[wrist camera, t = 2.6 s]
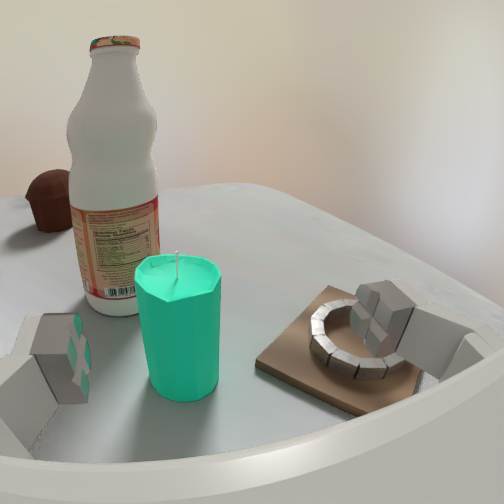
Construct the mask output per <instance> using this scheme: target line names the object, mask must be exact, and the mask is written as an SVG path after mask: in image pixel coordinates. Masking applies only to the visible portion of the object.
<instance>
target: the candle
mask: <svg viewBox="0 0 504 504" xmlns="http://www.w3.org/2000/svg"><path fill="white" fill-rule="evenodd" d="M134 280H135V288H136V296H137V303H138V311H139V317H140V324H141V330H142V336H143V342H144V348H145V353H146V359H147V364H148V369H149V374H150V379H151V384H152V386H153V387H154V388H155V389H156V390H157V391H158V393H159V394H160V395H161V396H163V397H165V398H168V399H171V400H174V401H177V402H188V401H198V400H199V399H201V398H203V397H205V396H206V395H208V394H209V393H211V392H213V389H214V387H215V385H216V383H217V381H218V379H219V334H220V299H221V273H220V271H219V268H218V265H216V264H214V263H213V262H211V261H209V260H208V259H206V258H204V257H196V256H188V255H178V252H177V251H176V255H171V254H163V255H156V256H149V257H146V258H145V259H144V260H143V261H142V262H141V263H140V265H139V266H138V267H137V268H136V270H135V279H134Z"/></svg>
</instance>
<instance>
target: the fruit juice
mask: <svg viewBox="0 0 504 504" xmlns="http://www.w3.org/2000/svg"><path fill="white" fill-rule="evenodd" d="M139 49H140V40H139V39H138V38H137V37H132V36H109V37H102V38H98V39H95V40H93V41H92V42H91V46H90V57H91V58H92V66H91V70H90V73H89V76H88V80H87V82H86V85H85V88H84V90H83V93H82V96H81V98H80V100H79V102H78V103H77V105H76V107H75V108H74V110H73V111H72V113H71V115H70V117H69V119H68V123H67V141H68V145H69V148H70V151H71V155H72V166H71V170H70V173H69V200H70V208H71V216H72V223H73V231H74V237H75V244H76V250H77V256H78V261H79V267H80V272H81V277H82V282H83V287H84V291H85V295H86V298H87V300H88V302H89V304H90V305H91V307H92V308H93V309H95V310H96V311H98V312H100V313H102V314H105V315H110V316H129V315H134V314H137V313H139V311H138V303H137V296H136V288H135V280H134V279H135V270H136V268H137V267H138V266H139V265H140V263H141V262H142V261H143V260H144V259H145V258H146V257H149V256H156V255H160V242H159V219H158V180H157V170H156V165H155V163H154V160H153V158H152V146H153V142H154V139H155V135H156V130H157V121H156V114H155V111H154V109H153V107H152V106H151V104H150V103H149V101H148V100H147V98H146V96H145V94H144V91H143V89H142V86H141V82H140V79H139V75H138V72H137V67H136V61H135V59H136V55H138V53H139Z"/></svg>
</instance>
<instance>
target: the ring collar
mask: <svg viewBox="0 0 504 504" xmlns="http://www.w3.org/2000/svg"><path fill="white" fill-rule="evenodd" d="M356 302H357V300H351V299H344V300H342V299H340V300H336V301H333V302H329V303H325V304H323V305H321V306H320V307H319V309H318V310H317V311H316V312H315V313H314V314H313V315H312V316H311V319H310V324H309V328H308V338H309V347H311V348H310V350H311V351H312V352H313V353H314V354H315V356H316V357H317V358H318V359H319V360H320V361H321V362H322V364H323V365H324V366H327V365H328V367H327V368H328V369H330V370H333V371H335V372H337V373H339V374H341V375H344V376H346V377H348V378H351V379H353V377H355V380H381V379H383V380H384V379H386V378H388V377H389V376H391V375H393V374H395V373H397V372H398V371H400V370H401V369H403V367H404V365H405V363H406V361H407V360H405V359H403V358H402V357H400V356H398V355H397V354H395V353H396V352H395V353H393V354H391V355H389V356H386V357H384V358H382V359H380V358H359V357H357V356H354V355H352V354H350V353H347V352H345V351H343V350H340V349H338V348H337V347H336V345H335V344H334V343H333V342H332V341H331V340H330V339H329V338H328V337H327V336H326V335H325V331H324V327H325V325H326V324H327V323H328V322H330V321H333V320H337V319H340V318H343V317H347V318H350V312H351V308H352V307H353V306H354V304H355V303H356Z"/></svg>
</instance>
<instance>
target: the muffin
mask: <svg viewBox="0 0 504 504" xmlns="http://www.w3.org/2000/svg"><path fill="white" fill-rule="evenodd" d="M69 173H70V172H69V171H66V170H61V169H56V170H50V171H47V172H44V173H42V174H40V175H39V176H38V177H36V179H34V180H33V182H32V183H31V184H30V186H29V189H28V191H27V194H26V197H25V198H26V199H27V200H28V201H29V202H30V205H31V209H32V212H33V215H34V218H35V222H36V225H37V228H38V230H39V231H44V232H46V233H49V232H59V231H63V230H65V229H68V228H71V227H73V223H72V216H71V208H70V200H69Z"/></svg>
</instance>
